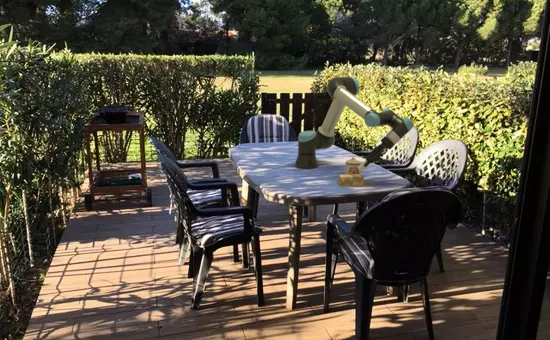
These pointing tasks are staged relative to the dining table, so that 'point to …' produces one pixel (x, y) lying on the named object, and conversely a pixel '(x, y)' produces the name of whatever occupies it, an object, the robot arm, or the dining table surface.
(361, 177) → the birch block
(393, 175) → the dining table surface
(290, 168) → the dining table surface
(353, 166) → the teacup with lid
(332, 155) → the dining table surface
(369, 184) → the mat
